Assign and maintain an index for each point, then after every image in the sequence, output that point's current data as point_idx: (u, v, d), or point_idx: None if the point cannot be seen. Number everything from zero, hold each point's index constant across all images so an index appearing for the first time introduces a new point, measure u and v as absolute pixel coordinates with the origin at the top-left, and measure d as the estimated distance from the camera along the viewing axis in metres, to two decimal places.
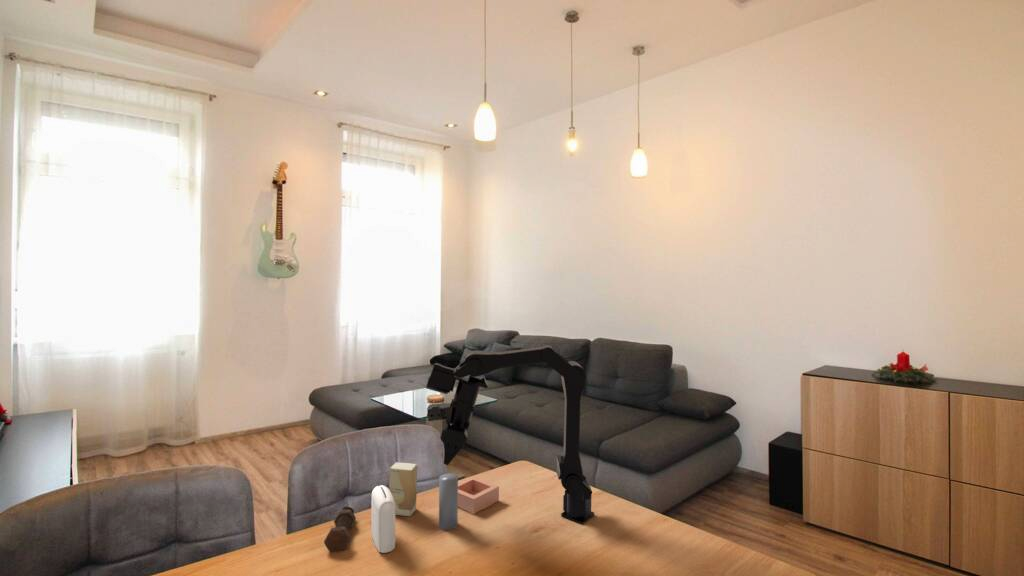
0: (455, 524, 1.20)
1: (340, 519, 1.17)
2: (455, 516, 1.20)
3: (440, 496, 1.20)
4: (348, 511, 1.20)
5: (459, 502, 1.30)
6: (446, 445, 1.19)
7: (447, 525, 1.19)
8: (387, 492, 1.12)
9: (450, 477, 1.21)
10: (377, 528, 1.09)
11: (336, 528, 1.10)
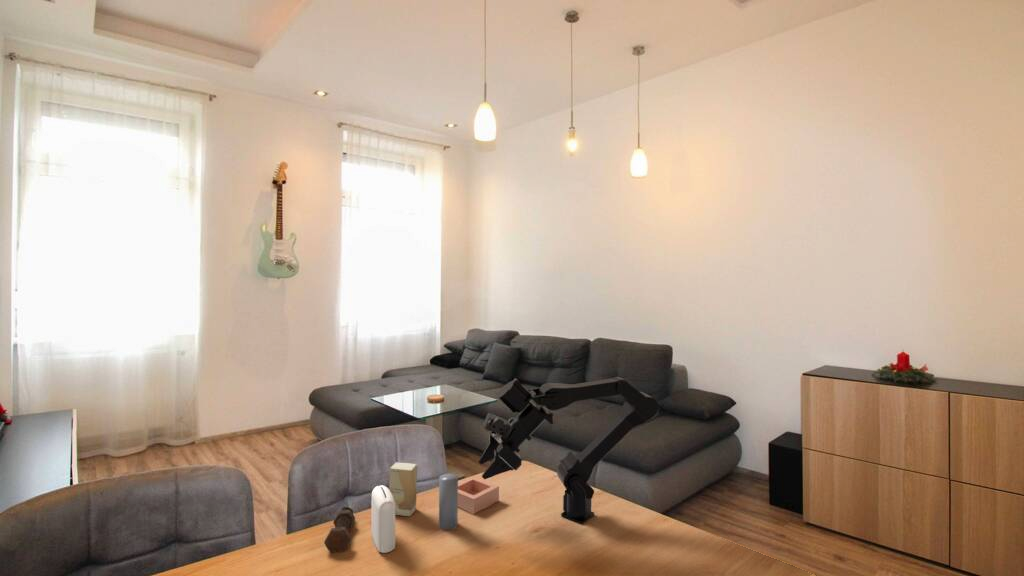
0: (455, 524, 1.20)
1: (340, 519, 1.17)
2: (455, 516, 1.20)
3: (440, 496, 1.20)
4: (347, 511, 1.19)
5: (459, 502, 1.30)
6: (495, 461, 1.16)
7: (447, 525, 1.19)
8: (387, 492, 1.12)
9: (450, 477, 1.21)
10: (377, 528, 1.09)
11: (336, 528, 1.10)
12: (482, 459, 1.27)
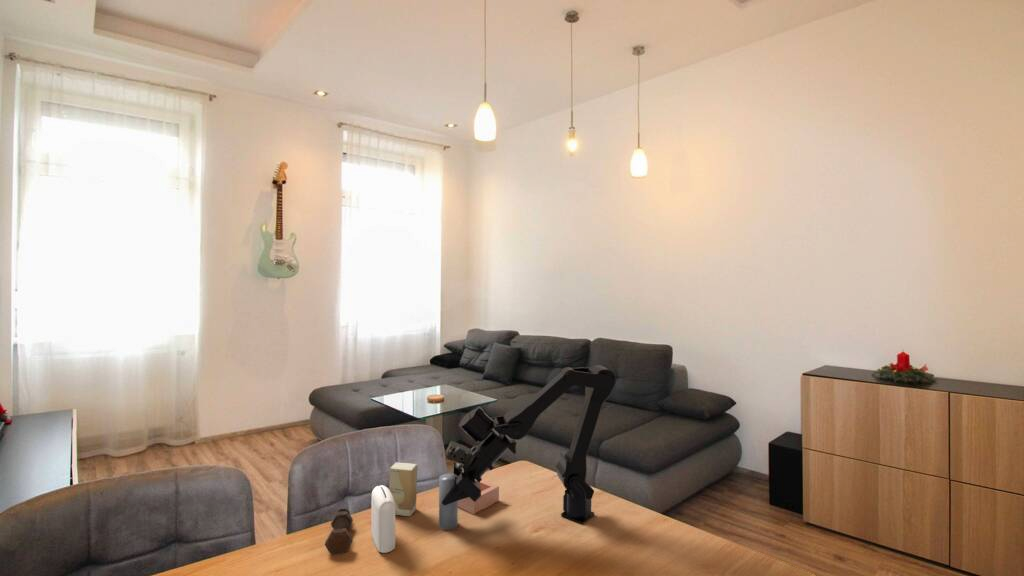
0: (455, 524, 1.20)
1: (338, 521, 1.16)
2: (455, 516, 1.20)
3: (440, 496, 1.20)
4: (345, 513, 1.19)
5: (459, 502, 1.30)
6: (455, 488, 1.17)
7: (447, 525, 1.19)
8: (387, 492, 1.12)
9: (450, 477, 1.21)
10: (377, 528, 1.09)
11: (337, 530, 1.09)
12: None
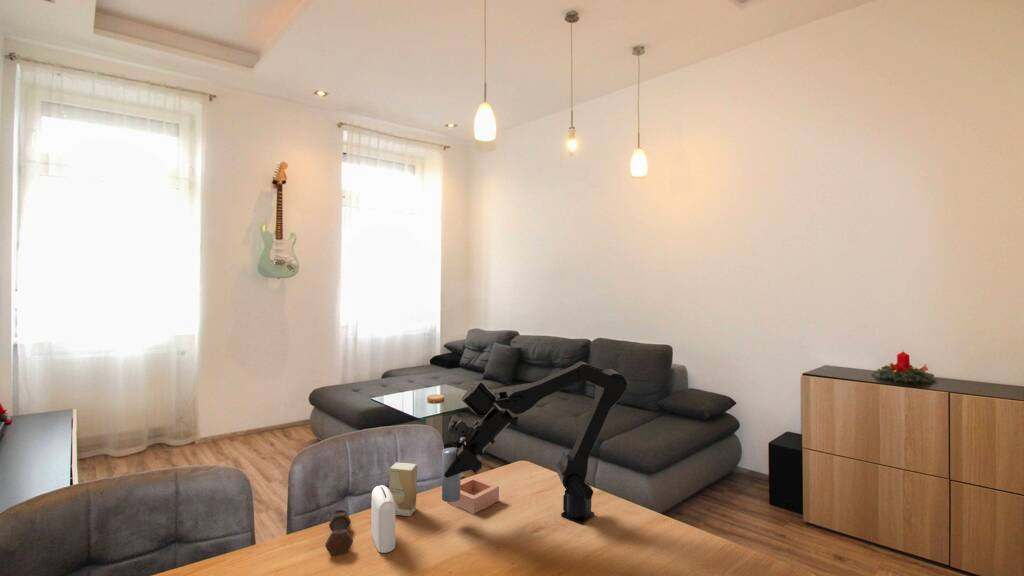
0: (457, 497, 1.22)
1: (337, 522, 1.15)
2: (457, 489, 1.22)
3: (443, 469, 1.22)
4: (343, 514, 1.18)
5: (459, 502, 1.30)
6: (457, 460, 1.19)
7: (450, 497, 1.21)
8: (387, 492, 1.12)
9: (452, 450, 1.23)
10: (377, 528, 1.09)
11: (337, 531, 1.09)
12: None
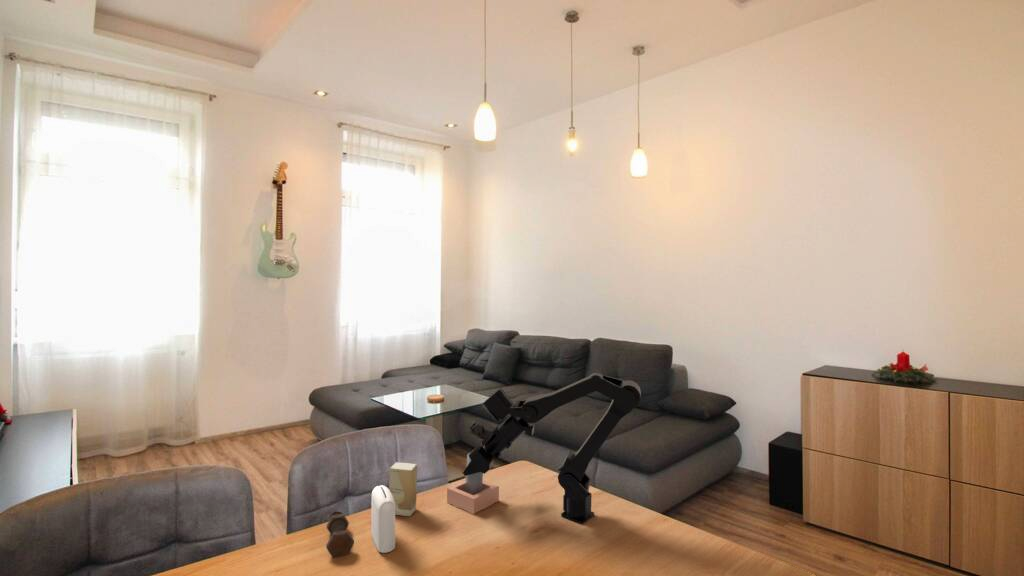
0: None
1: (335, 524, 1.15)
2: (477, 491, 1.32)
3: None
4: (341, 515, 1.17)
5: (459, 502, 1.30)
6: (472, 461, 1.28)
7: None
8: (387, 492, 1.12)
9: None
10: (377, 528, 1.09)
11: (338, 532, 1.08)
12: None
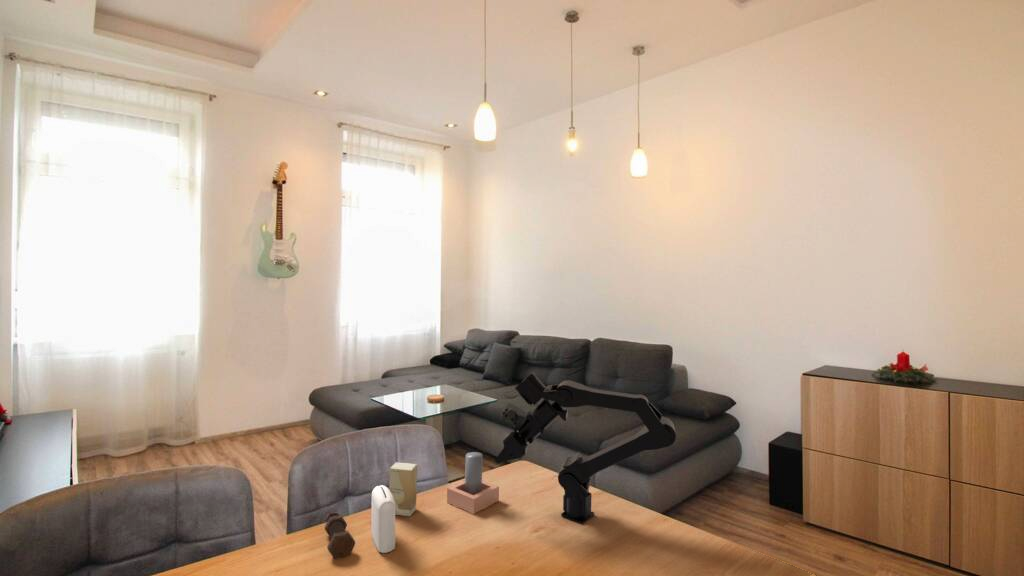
0: None
1: (334, 525, 1.14)
2: (477, 491, 1.32)
3: (465, 470, 1.33)
4: (339, 517, 1.17)
5: (459, 502, 1.30)
6: (504, 448, 1.25)
7: None
8: (387, 492, 1.12)
9: (475, 455, 1.34)
10: (377, 528, 1.09)
11: (339, 533, 1.08)
12: None
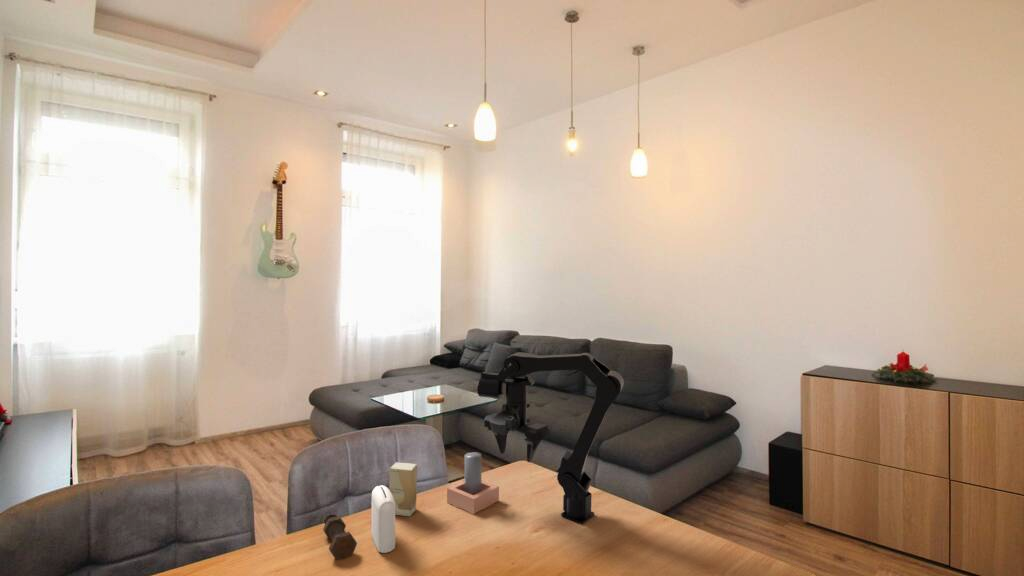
0: None
1: (334, 527, 1.13)
2: (477, 491, 1.32)
3: (465, 471, 1.33)
4: (338, 518, 1.16)
5: (459, 502, 1.30)
6: (532, 444, 1.27)
7: None
8: (387, 492, 1.12)
9: (474, 455, 1.34)
10: (377, 528, 1.09)
11: (341, 534, 1.08)
12: (502, 449, 1.34)
